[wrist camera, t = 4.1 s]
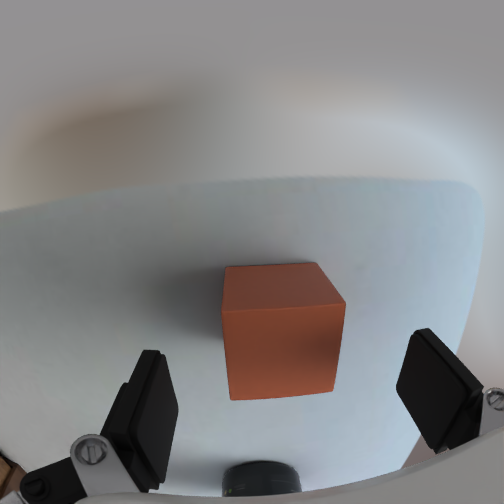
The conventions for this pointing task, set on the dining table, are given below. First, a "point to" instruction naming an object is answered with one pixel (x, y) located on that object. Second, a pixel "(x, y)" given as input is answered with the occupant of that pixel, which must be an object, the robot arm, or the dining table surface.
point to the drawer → (4, 472)
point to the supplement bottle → (260, 480)
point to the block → (280, 330)
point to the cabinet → (12, 478)
